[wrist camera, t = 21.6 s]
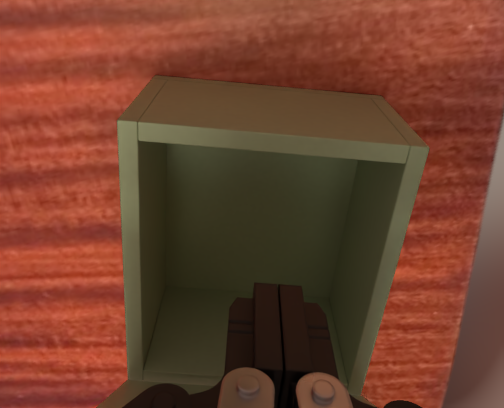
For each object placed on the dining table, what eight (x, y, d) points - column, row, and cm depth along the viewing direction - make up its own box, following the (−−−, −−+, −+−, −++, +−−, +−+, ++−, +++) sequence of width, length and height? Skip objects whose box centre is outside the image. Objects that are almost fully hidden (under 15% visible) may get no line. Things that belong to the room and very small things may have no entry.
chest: (154, 74, 28) (116, 119, 20) (382, 95, 29) (430, 147, 21) (155, 287, 36) (127, 380, 28) (337, 300, 36) (360, 396, 28)
